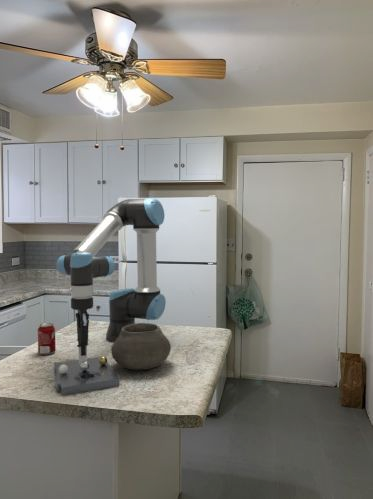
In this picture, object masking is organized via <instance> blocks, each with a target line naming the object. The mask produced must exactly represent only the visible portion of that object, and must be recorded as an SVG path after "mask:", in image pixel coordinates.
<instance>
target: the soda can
mask: <svg viewBox="0 0 373 499" xmlns="http://www.w3.org/2000/svg"><path fill="white" fill-rule="evenodd" d="M38 326H39V327H38V328H37V351H38V352H37V353H38V354H39V355H41V356H49V355H52V354H54V353H55V352H56V327H55V326H54V323H52V322H45V323H39V324H38Z"/></svg>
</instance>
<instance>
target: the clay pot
mask: <svg viewBox="0 0 373 499" xmlns="http://www.w3.org/2000/svg"><path fill="white" fill-rule="evenodd" d="M171 348H172V347H171V342H170V341H169V339H168V337H167V336H165V334H164V333H163V331H162V329H161V328H160V326H159V325H158V324H156V323H149V322H137V323H136V322H135V324H131V325H127V326H124V327H123V328H122V329H121V333H120V335H119V337H118V338H117V339H116V340H115V342H112V345H111V350H110V351H111V352H110V353H111V356H112V359H113V360H114V361H115V362H116V363H117V365H118V366H120V367H122V368H124V369H128V370H133V371H142V370H149V369H153V368H155V367H157V366H159V365H161V364H162V363H164V362H165V361H166V360H167V359H168V358H169V355H170V353H171V350H172V349H171Z"/></svg>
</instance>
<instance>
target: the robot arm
mask: <svg viewBox="0 0 373 499" xmlns="http://www.w3.org/2000/svg"><path fill="white" fill-rule="evenodd" d="M164 220H165V210H164V207H163V204H162V202H161V201H159V200H158V199H157V198H150V197H149V198H133V199H132V198H128V199H123V200H122V201H120V202H118V203H116V204H115V205H113V206H112V207H111V208H109V209H108V210H107V211H106V213H105V214H104V215H103V218H102V220H101V221H100V222H99V223H98V224H97V225H96V226H95V227H94V228H93V229H92V230H91V231H90V233H89V234H87V236H86V237H85V238H84V239H83V240H82V241H81V242H80V243H79V244H78V245H77V246H76V247H75V248H74V250H73V251H72V252H71V253H70V254H66V255H60V256H59V257H58V259H57V261H56V268H57V271H58V273H59V274H60V275H64V276H70V288H68V291H69V292H70V296H71V298H70V308H71V309H72V310H75V311H77V312H76V313H75V318H76V332H77V334H76V336H77V337H76V338H77V339H76V341H77V344H76V345H77V348H78V349H77V350H78V360H79V365H80V364H81V363H82V362H84V361H86V362H87V358H88V346H89V327H90V326H89V324H90V320H89V319H90V314H89V313H88V310H91V309H92V308H94V298H93V296H94V279H95V278H102V277H103V278H106V277H108V276H110V275H112V274H113V273H114V272H115V269H116V263H115V260H114V259H113V258H112V257H110V256H107V255H101V256H96V255H97V254H98V253H99V251H100V250H101V249H102V248H103V247H104V245H105V244H106V243H107V242H108V241H109V240H110V238H112V237H113V235H114V234H115V233H116V232H117V231H120V230H122V229H123V227H126V226H132V229H133V230H134V231H135V232H136V233H135V234H136V260H137V262H136V265H137V266H136V268H137V287H135V288H133V287H131V288H122V289H115V290H112V291H111V292H110V293H109V298H108V299H109V300H108V303H109V306H108V308H109V323H108V327H107V331H106V335H105V341H107V342H109V343H114V342H115V340H116V339H117V338H118V337H119V335H120V333H121V329H122V328H123V327H124V326H127V325H131V324H136V319H140V320H141V319H142V320H147V321H157V320H159V319H161V317H162V316H163V314H164V312H165V309H166V303H167V302H166V301H167V300H166V298H165V295H164V294H163V293H161V288H160V287H159V286H158V280H157V279H158V274H157V270H158V269H157V232H158V231H159V230H160V226H161V225H162V224H163V223H164Z"/></svg>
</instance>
